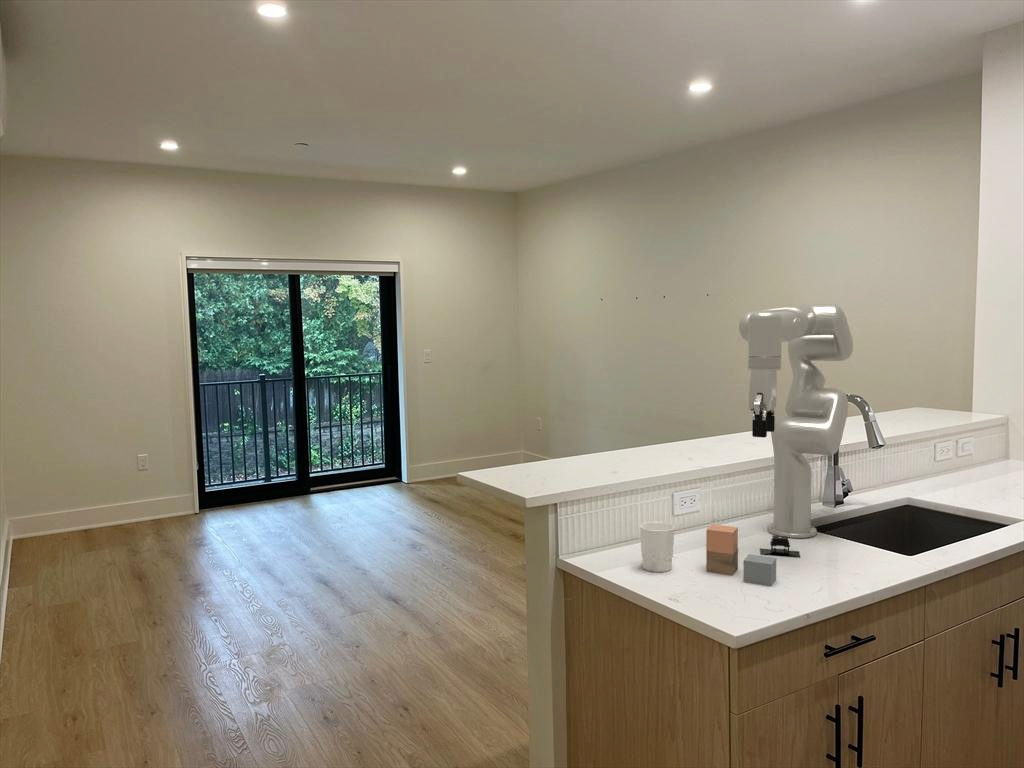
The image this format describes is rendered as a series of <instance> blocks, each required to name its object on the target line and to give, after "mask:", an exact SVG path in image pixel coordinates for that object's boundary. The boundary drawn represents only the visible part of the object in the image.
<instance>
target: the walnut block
mask: <svg viewBox="0 0 1024 768" xmlns="http://www.w3.org/2000/svg"><path fill="white" fill-rule="evenodd" d="M705 554H706V557H705V560H706V562H705V563H706V565H705V567H706V569H705V570H706V572H707V573H712V574H719V575H725V576H731V577H733V576H734V575H735V574H736V573H737V571H738V569H739V548H738V549H737V550H736V551H735V552H734V554H727V553H719V552H712V551H706V553H705Z"/></svg>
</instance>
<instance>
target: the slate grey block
mask: <svg viewBox="0 0 1024 768" xmlns="http://www.w3.org/2000/svg"><path fill="white" fill-rule="evenodd" d="M742 573H743V579H742V580H743V581H742V582H743V583H748V584H754V585H760V586H767V587H773V585H774V584H775V582H776V580H777V557H774V556H766V555H757V554H751V553H748V554H747V556H746V557H745V558H744V559H743V572H742Z"/></svg>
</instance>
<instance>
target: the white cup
mask: <svg viewBox="0 0 1024 768" xmlns="http://www.w3.org/2000/svg"><path fill="white" fill-rule="evenodd" d="M639 528H640V529H639V531H640V550H641V559H642V560H641V561H642V568H643V569H644V570H646V571H648V572H655V573H665V572H668V571H670V570H672V568H673V567H672V566H673V554H674V543H675V542H674V541H675V540H674V539H675V525H673V524H672V523H668V522H663V521H647V522H643V523H641V524H640V525H639Z"/></svg>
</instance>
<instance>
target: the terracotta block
mask: <svg viewBox="0 0 1024 768" xmlns="http://www.w3.org/2000/svg"><path fill="white" fill-rule="evenodd" d="M705 537H706V540H705V542H706V544H705V546H706V548H705V549H706V551H712V552H719V553H727V554H734V552H735V551H736V550H737V549H738V550H739V545H738V543H739V539H738V538H739V527H738V526H729V525H724V524H714V523H713V524H712V523H711V525H709V527H708V528H706V536H705Z"/></svg>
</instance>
